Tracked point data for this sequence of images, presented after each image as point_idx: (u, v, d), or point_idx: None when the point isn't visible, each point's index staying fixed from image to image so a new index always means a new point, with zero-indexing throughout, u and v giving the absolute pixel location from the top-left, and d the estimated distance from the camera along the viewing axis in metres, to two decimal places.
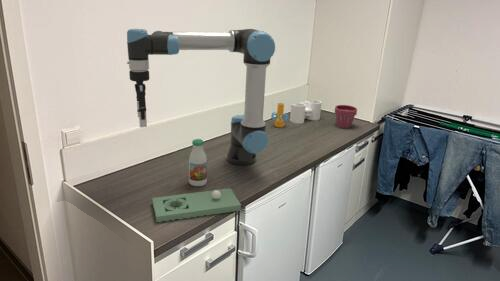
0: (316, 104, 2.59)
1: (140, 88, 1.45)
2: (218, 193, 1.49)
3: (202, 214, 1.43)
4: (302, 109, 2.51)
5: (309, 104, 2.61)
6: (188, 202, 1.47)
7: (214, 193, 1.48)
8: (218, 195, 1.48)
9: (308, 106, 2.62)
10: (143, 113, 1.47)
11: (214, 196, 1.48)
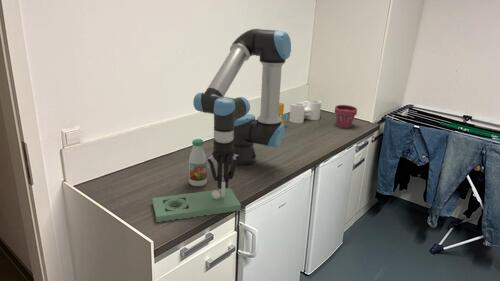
0: (315, 104, 2.60)
1: None
2: (218, 193, 1.49)
3: (202, 214, 1.43)
4: (301, 109, 2.52)
5: (309, 104, 2.61)
6: (188, 202, 1.47)
7: (214, 193, 1.48)
8: (218, 195, 1.48)
9: (308, 106, 2.62)
10: (218, 182, 1.48)
11: (214, 196, 1.48)
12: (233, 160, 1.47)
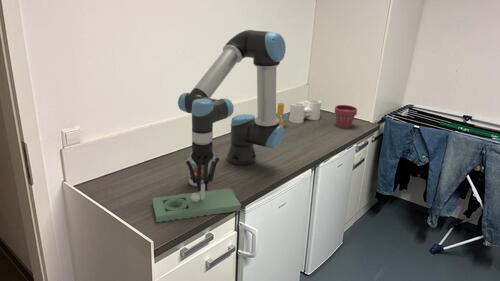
0: (315, 104, 2.60)
1: (186, 162, 1.41)
2: (198, 200, 1.47)
3: (202, 214, 1.43)
4: (301, 109, 2.52)
5: (308, 104, 2.61)
6: (188, 202, 1.47)
7: (199, 197, 1.47)
8: (197, 200, 1.46)
9: (307, 106, 2.62)
10: (197, 185, 1.45)
11: (197, 196, 1.46)
12: (212, 162, 1.44)
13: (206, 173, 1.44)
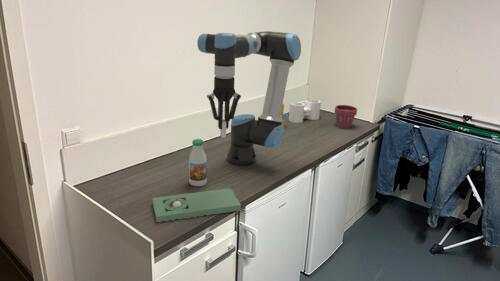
0: (315, 104, 2.60)
1: (208, 98, 1.41)
2: None
3: (202, 214, 1.43)
4: (300, 108, 2.53)
5: (308, 104, 2.62)
6: (188, 202, 1.47)
7: None
8: None
9: (307, 106, 2.63)
10: (218, 122, 1.46)
11: None
12: (234, 99, 1.45)
13: (228, 110, 1.44)
